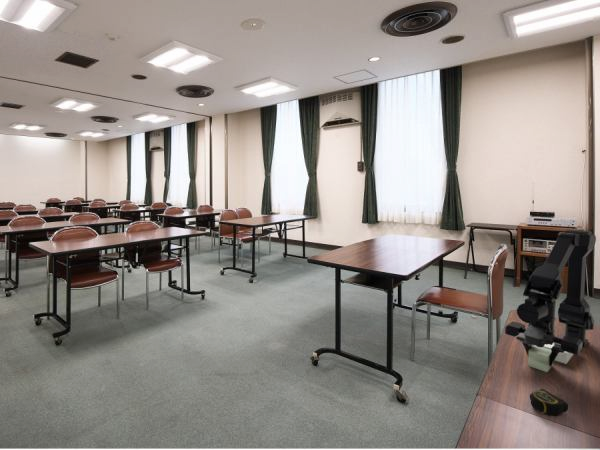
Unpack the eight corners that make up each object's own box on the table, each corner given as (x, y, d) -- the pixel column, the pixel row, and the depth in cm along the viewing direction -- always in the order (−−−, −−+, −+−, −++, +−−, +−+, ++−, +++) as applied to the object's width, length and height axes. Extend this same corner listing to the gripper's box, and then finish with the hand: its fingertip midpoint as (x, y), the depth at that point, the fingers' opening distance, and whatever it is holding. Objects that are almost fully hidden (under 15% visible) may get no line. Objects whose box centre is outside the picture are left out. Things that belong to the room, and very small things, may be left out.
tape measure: (569, 415, 85) (570, 401, 85) (549, 422, 83) (550, 408, 83) (542, 399, 92) (543, 386, 91) (523, 405, 90) (524, 391, 89)
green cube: (533, 359, 110) (534, 345, 109) (552, 366, 106) (553, 350, 106) (527, 365, 107) (528, 350, 106) (547, 372, 103) (548, 356, 102)
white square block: (539, 343, 121) (539, 332, 121) (574, 353, 114) (575, 342, 113) (529, 353, 115) (529, 342, 114) (566, 365, 107) (567, 352, 107)
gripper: (498, 313, 106) (497, 360, 109) (574, 332, 92) (570, 386, 94) (512, 303, 113) (510, 348, 116) (584, 320, 99) (580, 371, 101)
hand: (540, 362), depth 107 cm, fingers closed on green cube, 5 cm apart
